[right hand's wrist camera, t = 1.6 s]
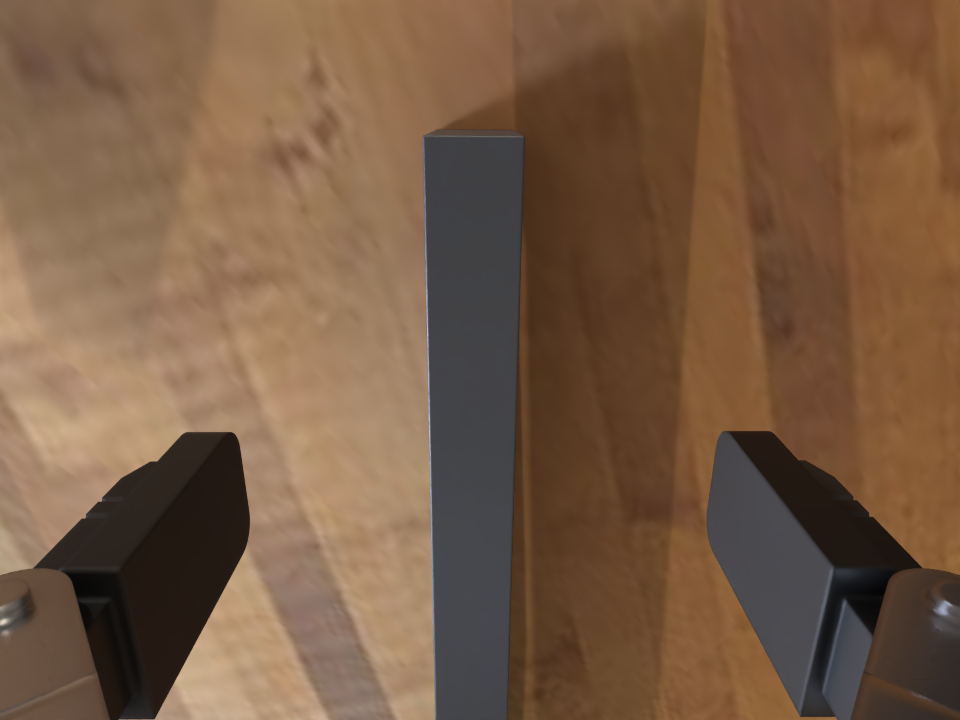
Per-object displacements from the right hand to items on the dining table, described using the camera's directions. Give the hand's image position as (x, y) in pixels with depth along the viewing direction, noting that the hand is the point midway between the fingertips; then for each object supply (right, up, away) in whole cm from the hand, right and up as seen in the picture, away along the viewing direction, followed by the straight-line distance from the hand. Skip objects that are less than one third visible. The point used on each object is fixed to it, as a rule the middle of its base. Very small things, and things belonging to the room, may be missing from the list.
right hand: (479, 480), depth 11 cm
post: (-1, -24, +38) cm, 44 cm away
